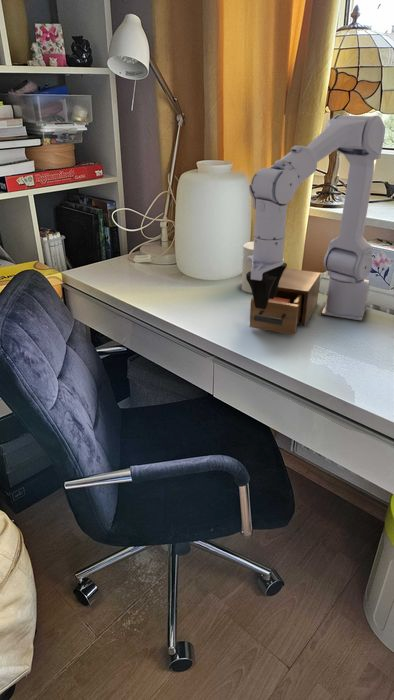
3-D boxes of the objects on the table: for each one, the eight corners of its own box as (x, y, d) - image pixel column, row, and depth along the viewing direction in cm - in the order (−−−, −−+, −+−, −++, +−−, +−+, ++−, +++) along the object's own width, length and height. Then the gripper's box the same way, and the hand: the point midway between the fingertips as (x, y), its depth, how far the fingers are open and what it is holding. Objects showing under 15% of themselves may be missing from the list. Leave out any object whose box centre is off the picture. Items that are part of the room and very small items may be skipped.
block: (288, 317, 110) (290, 299, 108) (283, 325, 107) (285, 306, 104) (270, 314, 112) (271, 296, 110) (264, 321, 108) (265, 303, 106)
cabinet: (304, 326, 111) (308, 291, 107) (256, 317, 115) (258, 284, 111) (316, 304, 122) (320, 272, 117) (272, 298, 126) (275, 266, 122)
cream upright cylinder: (270, 283, 135) (273, 241, 130) (271, 294, 128) (274, 250, 123) (242, 282, 136) (243, 241, 130) (241, 293, 129) (243, 249, 123)
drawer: (289, 343, 101) (292, 314, 98) (243, 334, 105) (244, 306, 102) (307, 313, 115) (310, 287, 111) (265, 306, 118) (267, 281, 115)
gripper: (260, 225, 97) (257, 287, 104) (236, 243, 86) (233, 312, 92) (294, 228, 95) (289, 292, 101) (274, 248, 83) (269, 319, 90)
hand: (265, 302), depth 96 cm, fingers open, 5 cm apart
